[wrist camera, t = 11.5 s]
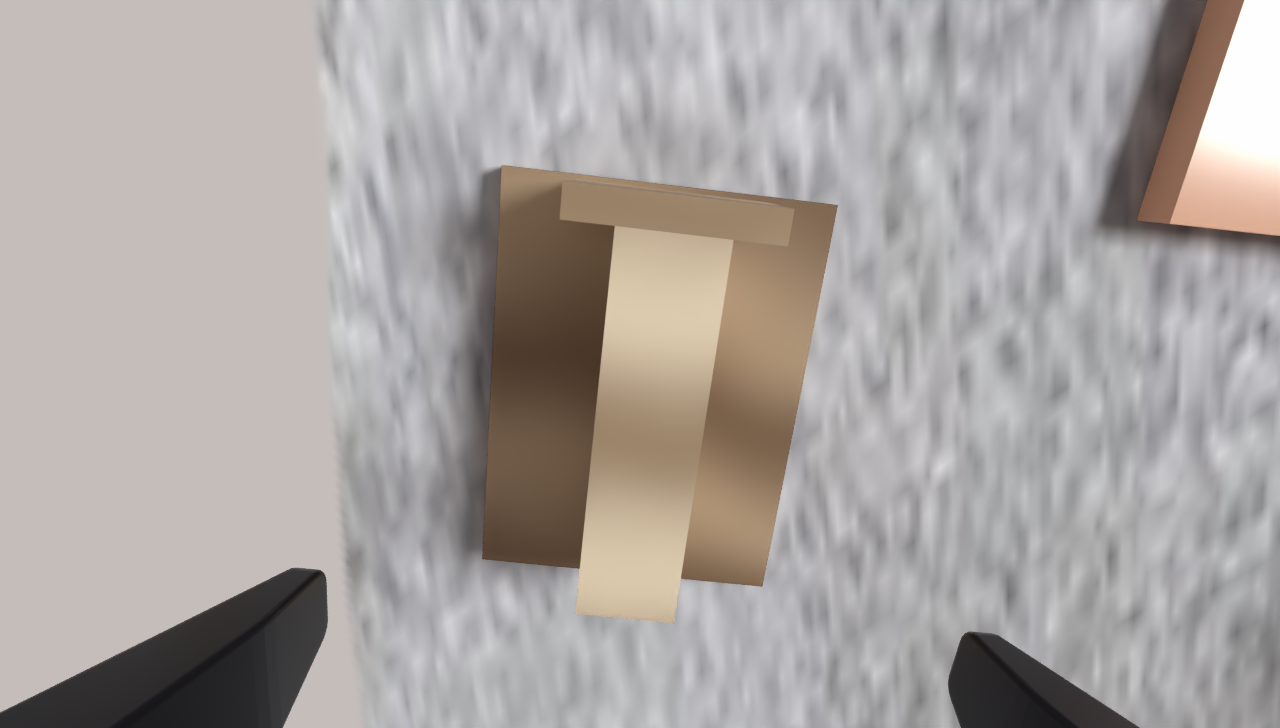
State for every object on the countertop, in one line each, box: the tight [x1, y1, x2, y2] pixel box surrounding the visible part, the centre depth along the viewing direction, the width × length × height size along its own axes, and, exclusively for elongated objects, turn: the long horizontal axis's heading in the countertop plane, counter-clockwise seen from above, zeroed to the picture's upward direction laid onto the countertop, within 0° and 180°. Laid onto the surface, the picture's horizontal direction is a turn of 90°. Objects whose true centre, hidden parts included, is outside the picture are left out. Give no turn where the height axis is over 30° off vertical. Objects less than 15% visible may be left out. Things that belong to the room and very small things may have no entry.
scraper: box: [560, 179, 795, 623], centre depth 17 cm, size 11×5×4 cm, turn 173°
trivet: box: [482, 165, 838, 586], centre depth 19 cm, size 12×9×1 cm
